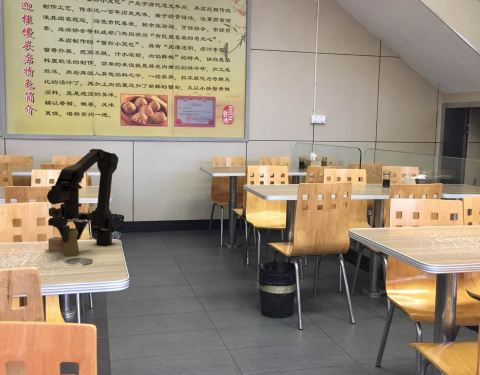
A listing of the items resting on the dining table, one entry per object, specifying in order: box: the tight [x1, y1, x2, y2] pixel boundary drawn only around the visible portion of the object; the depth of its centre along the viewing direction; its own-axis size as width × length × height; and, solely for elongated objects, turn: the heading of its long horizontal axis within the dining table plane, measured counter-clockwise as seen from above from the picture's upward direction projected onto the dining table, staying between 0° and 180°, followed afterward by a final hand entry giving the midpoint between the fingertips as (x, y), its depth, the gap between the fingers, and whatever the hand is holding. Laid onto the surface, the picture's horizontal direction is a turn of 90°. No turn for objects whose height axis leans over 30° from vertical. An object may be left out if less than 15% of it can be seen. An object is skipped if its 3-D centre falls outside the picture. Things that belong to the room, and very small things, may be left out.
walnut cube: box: [47, 236, 65, 252], centre depth 213 cm, size 5×5×5 cm
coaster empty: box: [64, 257, 94, 267], centre depth 197 cm, size 10×10×1 cm
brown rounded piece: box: [63, 227, 80, 258], centre depth 206 cm, size 6×6×11 cm
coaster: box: [43, 248, 64, 255], centre depth 213 cm, size 10×10×1 cm
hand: (71, 241), depth 206 cm, fingers open, 7 cm apart
